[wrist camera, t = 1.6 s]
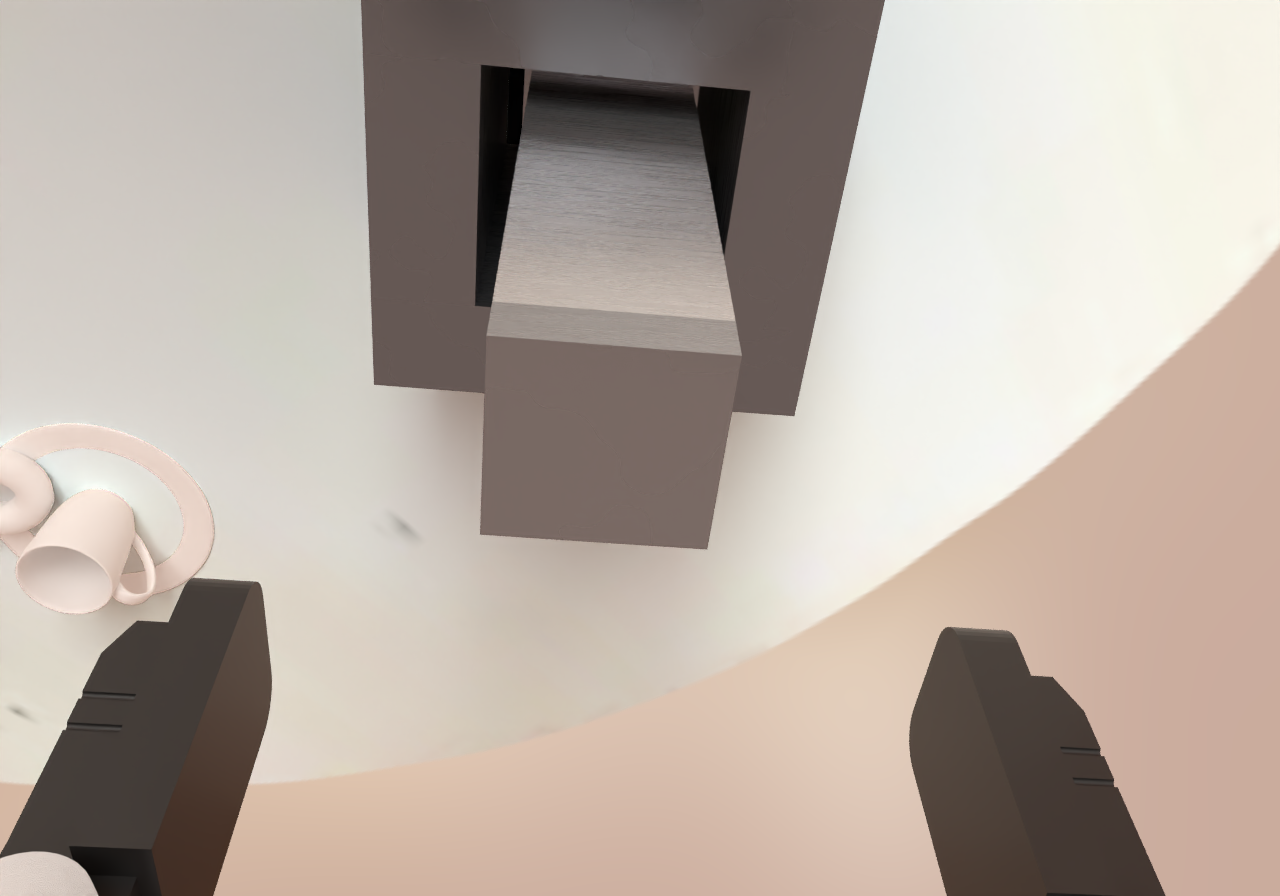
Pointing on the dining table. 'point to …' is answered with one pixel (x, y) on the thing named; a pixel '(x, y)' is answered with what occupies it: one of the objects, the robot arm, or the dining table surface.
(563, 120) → the column
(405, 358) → the housing
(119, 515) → the teacup and saucer
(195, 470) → the dining table surface
